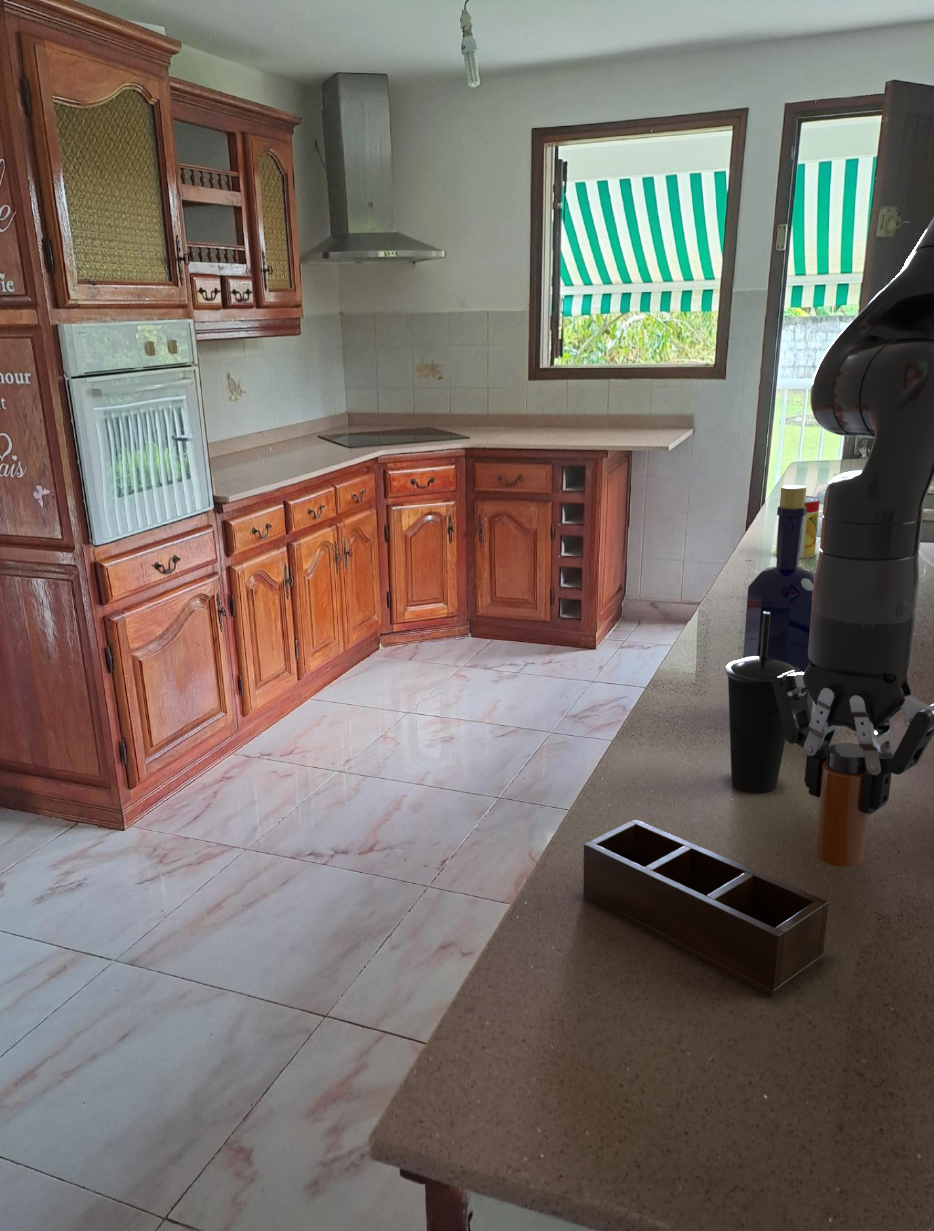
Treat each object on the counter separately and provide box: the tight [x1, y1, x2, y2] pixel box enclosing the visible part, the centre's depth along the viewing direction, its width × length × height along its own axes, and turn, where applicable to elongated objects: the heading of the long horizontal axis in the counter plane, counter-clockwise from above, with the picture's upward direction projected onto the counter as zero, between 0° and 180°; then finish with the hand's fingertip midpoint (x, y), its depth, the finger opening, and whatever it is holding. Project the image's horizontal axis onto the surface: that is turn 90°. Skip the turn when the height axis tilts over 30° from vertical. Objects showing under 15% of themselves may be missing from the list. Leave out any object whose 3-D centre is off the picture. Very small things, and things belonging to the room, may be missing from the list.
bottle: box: [742, 484, 815, 719], centre depth 124 cm, size 9×9×30 cm
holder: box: [582, 818, 830, 998], centre depth 85 cm, size 7×20×6 cm, turn 38°
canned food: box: [775, 495, 821, 560], centre depth 212 cm, size 8×8×12 cm
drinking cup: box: [724, 612, 800, 794], centre depth 108 cm, size 8×8×20 cm
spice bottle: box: [813, 742, 870, 868], centre depth 84 cm, size 4×4×10 cm
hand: (844, 800), depth 84 cm, fingers closed on spice bottle, 4 cm apart
